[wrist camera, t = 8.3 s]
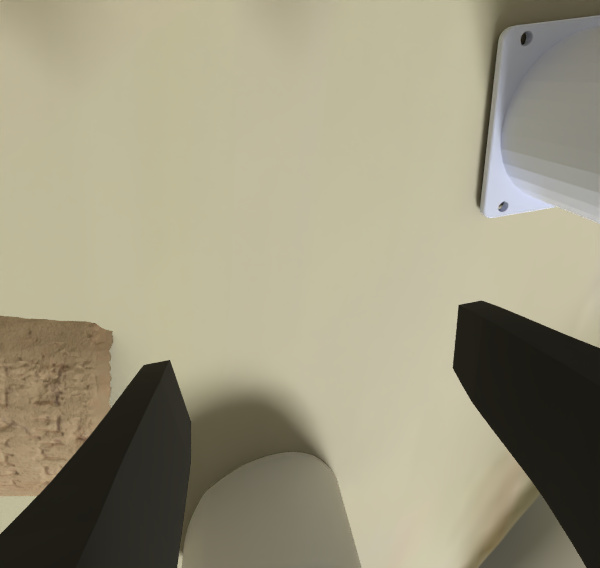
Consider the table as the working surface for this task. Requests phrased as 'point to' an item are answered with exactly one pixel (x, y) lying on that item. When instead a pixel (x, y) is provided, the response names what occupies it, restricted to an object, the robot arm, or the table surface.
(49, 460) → the clay tablet
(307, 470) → the lumpy-topped squat cylinder
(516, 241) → the table surface
